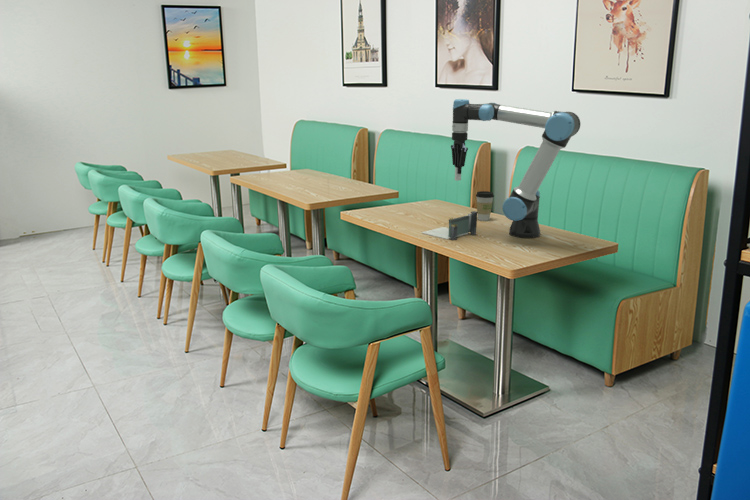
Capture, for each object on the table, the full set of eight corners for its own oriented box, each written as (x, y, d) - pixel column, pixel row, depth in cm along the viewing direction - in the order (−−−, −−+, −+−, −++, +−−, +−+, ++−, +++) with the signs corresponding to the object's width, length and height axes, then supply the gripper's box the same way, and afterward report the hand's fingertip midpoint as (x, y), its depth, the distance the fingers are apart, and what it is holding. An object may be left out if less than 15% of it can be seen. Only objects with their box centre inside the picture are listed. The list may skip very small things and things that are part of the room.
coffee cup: (492, 222, 336) (494, 194, 332) (474, 221, 338) (475, 193, 334) (492, 218, 346) (494, 191, 341) (474, 217, 347) (476, 190, 343)
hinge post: (476, 234, 310) (478, 211, 306) (473, 235, 308) (474, 212, 305) (472, 233, 311) (473, 211, 308) (469, 234, 310) (470, 211, 307)
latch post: (456, 239, 301) (457, 224, 299) (453, 240, 299) (454, 225, 297) (454, 238, 302) (454, 223, 300) (450, 239, 300) (451, 224, 298)
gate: (468, 231, 313) (469, 212, 310) (471, 231, 311) (472, 212, 309) (447, 236, 302) (448, 217, 299) (450, 237, 300) (451, 217, 297)
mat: (469, 233, 311) (469, 232, 311) (447, 239, 300) (447, 238, 300) (442, 227, 323) (442, 226, 323) (421, 233, 312) (421, 232, 312)
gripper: (446, 131, 306) (444, 178, 312) (459, 133, 294) (457, 182, 301) (460, 130, 308) (457, 177, 315) (473, 132, 297) (471, 181, 303)
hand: (457, 180), depth 308 cm, fingers closed
